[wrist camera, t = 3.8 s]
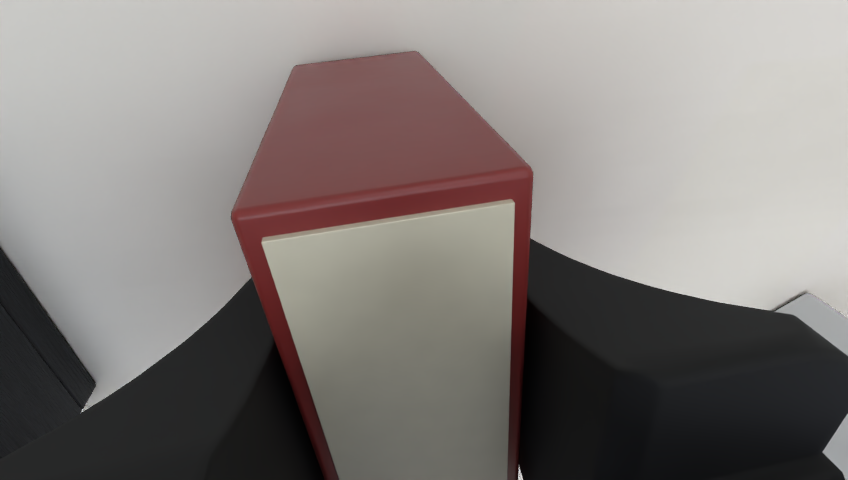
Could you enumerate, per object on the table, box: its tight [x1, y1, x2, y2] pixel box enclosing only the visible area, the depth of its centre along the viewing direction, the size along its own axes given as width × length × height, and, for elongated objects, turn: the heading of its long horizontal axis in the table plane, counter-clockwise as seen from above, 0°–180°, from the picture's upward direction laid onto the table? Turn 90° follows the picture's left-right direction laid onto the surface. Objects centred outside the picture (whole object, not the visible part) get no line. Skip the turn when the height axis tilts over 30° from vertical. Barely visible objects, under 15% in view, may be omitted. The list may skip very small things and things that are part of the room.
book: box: [231, 51, 533, 480], centre depth 10 cm, size 8×3×8 cm, turn 5°
